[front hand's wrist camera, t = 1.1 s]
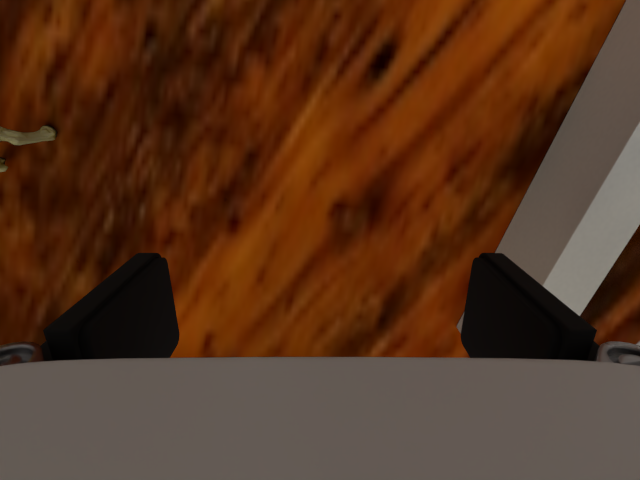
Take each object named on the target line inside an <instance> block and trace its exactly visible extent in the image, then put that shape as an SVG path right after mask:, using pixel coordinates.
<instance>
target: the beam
mask: <svg viewBox="0 0 640 480" xmlns="http://www.w3.org/2000/svg"><path fill="white" fill-rule="evenodd" d="M639 224H640V0H626V2H625V4H624V6H623V8H622V10H621V12H620V13H619V15H618V17H617V19H616V21H615V23H614V25H613V27H612V29H611V31H610V33H609V35H608V37H607V38H606V40H605V42H604V44H603V46H602V48H601V50H600V52H599V54H598V56H597V58H596V60H595V61H594V63H593V65H592V67H591V69H590V71H589V73H588V75H587V77H586V79H585V81H584V83H583V85H582V86H581V88H580V90H579V92H578V94H577V96H576V98H575V100H574V102H573V104H572V106H571V108H570V109H569V111H568V113H567V115H566V117H565V119H564V121H563V123H562V125H561V127H560V129H559V131H558V133H557V134H556V136H555V138H554V140H553V142H552V144H551V146H550V148H549V150H548V152H547V154H546V156H545V157H544V159H543V161H542V163H541V165H540V167H539V169H538V171H537V173H536V175H535V177H534V179H533V181H532V182H531V184H530V186H529V188H528V190H527V192H526V194H525V196H524V198H523V200H522V202H521V204H520V206H519V207H518V209H517V211H516V213H515V215H514V217H513V219H512V221H511V223H510V225H509V227H508V229H507V230H506V232H505V234H504V236H503V238H502V240H501V242H500V244H499V246H498V248H497V250H496V252H495V253H502V254H504V255H505V256H507V257H508V258H509V259H510V260H511V261H513V262H514V263H515V264H516V265H518V266H519V267H520V268H521V269H522V270H524V271H525V272H526V273H527V274H529V275H530V276H531V277H532V278H533V279H535V280H536V281H537V282H538V283H540V284H541V285H542V286H543V287H544V288H546V289H547V290H548V291H549V292H551V293H552V294H553V295H554V296H555V297H557V298H558V299H559V300H560V301H562V302H563V303H564V304H565V305H566V306H568V307H569V308H570V309H571V310H573V311H574V312H575V313H576V314H577V315H579V316H580V315H581V313H582V312H583V310H584V309H585V307H586V305H587V304H588V302H589V301H590V299H591V298H592V296H593V295H594V293H595V292H596V290H597V289H598V287H599V286H600V284H601V283H602V281H603V279H604V278H605V276H606V275H607V273H608V272H609V270H610V269H611V267H612V266H613V264H614V263H615V261H616V260H617V258H618V257H619V255H620V253H621V252H622V250H623V249H624V247H625V246H626V244H627V243H628V241H629V240H630V238H631V237H632V235H633V234H634V232H635V231H636V229H637V227H638V226H639ZM463 317H464V313H463V315H462V317H461V319H460V321H459V323H458V325H457V328H458V330H459V332H460V333H461V329H462V323H463Z"/></svg>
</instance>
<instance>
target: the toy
mask: <svg viewBox="0 0 640 480" xmlns="http://www.w3.org/2000/svg"><path fill="white" fill-rule="evenodd" d="M56 135H57V132H56V130H55V129H54V128H53V127H51V126H48V125H45V126H42V127H41V128H40V130H39V131H36V132H29V133H24V132H18V131H13V130H9V129H6V128H3V127H1V126H0V141H7V142H10V143H12V144H14V145H23V144H29V143H36V142H41V141H50V140H55V137H56ZM7 168H8V167H7V166H6V165H5V159H4V158H2V157H0V172H4V171H6V170H7Z"/></svg>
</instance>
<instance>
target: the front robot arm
mask: <svg viewBox="0 0 640 480" xmlns="http://www.w3.org/2000/svg"><path fill="white" fill-rule="evenodd" d="M43 331H44V334H45V337H46V340H47V341H46V342H45V343H43V344H42V345H41V346H40V345H39V344H36V343H34V342H16V343H10V344H6V345H2V346H0V480H640V346H638V345H634V344H630V343H624V342H606V343H604V344H601V345H600V346H599V345H598V344H597V343H595V342H594V341H593V340H594V337H595V334H596V331H597V330H596V329H595V328H593V327H592V326H591V325H590V324H588V323H587V322H586V321H585V320H584V319H582V318H581V317H580V316H579V315H577V314H576V313H575V312H574V311H573V310H571V309H570V308H569V307H568V306H566V305H565V304H564V303H563V302H562V301H560V300H559V299H558V298H557V297H555V296H554V295H553V294H552V293H551V292H549V291H548V290H547V289H546V288H544V287H543V286H542V285H541V284H540V283H538V282H537V281H536V280H535V279H533V278H532V277H531V276H530V275H529V274H527V273H526V272H525V271H524V270H522V269H521V268H520V267H519V266H518V265H516V264H515V263H514V262H513V261H511V260H510V259H509V258H508V257H507V256H505V255H504V254H502V253H482V254H480V256H479V258H475V259H474V260H473V263H472V269H471V275H470V281H469V287H468V293H467V299H466V305H465V311H464V317H463V323H462V329H461V341H462V344H463V346H464V348H465V349H466V351H467V353H468V354H469V356H470V358H414V357H217V358H170V356H171V354H172V353H173V351H174V349H175V348H176V346H177V344H178V341H179V329H178V323H177V317H176V311H175V305H174V299H173V293H172V287H171V281H170V275H169V269H168V263H167V260H166V259H165V258H161V256H160V254H158V253H138V254H136V255H135V256H133V257H132V258H131V259H130V260H129V261H127V262H126V263H125V264H124V265H122V266H121V267H120V268H119V269H118V270H116V271H115V272H114V273H113V274H111V275H110V276H109V277H108V278H107V279H105V280H104V281H103V282H102V283H100V284H99V285H98V286H97V287H96V288H94V289H93V290H92V291H91V292H89V293H88V294H87V295H86V296H85V297H83V298H82V299H81V300H80V301H78V302H77V303H76V304H75V305H74V306H72V307H71V308H70V309H69V310H67V311H66V312H65V313H64V314H63V315H61V316H60V317H59V318H58V319H56V320H55V321H54V322H53V323H52V324H50V325H49V326H48V327H47V328H45V329H44V330H43Z"/></svg>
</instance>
